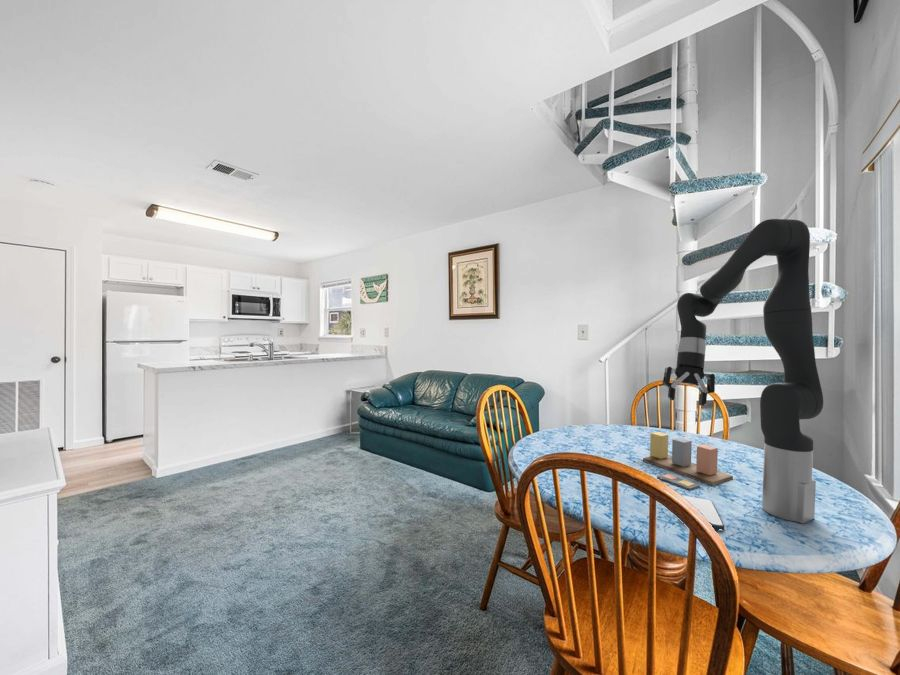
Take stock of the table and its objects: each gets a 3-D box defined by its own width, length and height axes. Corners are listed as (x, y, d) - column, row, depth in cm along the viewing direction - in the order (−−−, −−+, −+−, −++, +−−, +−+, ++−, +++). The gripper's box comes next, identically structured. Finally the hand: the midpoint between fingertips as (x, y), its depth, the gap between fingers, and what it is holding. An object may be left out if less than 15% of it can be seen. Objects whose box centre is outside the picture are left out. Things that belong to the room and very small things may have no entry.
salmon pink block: (716, 473, 119) (717, 447, 119) (709, 475, 117) (710, 449, 117) (703, 468, 123) (704, 444, 122) (696, 470, 121) (696, 446, 121)
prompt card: (699, 487, 112) (699, 484, 112) (689, 490, 110) (689, 487, 109) (667, 475, 121) (667, 472, 121) (657, 477, 118) (657, 475, 118)
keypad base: (732, 479, 118) (732, 475, 118) (712, 485, 113) (712, 482, 113) (662, 456, 138) (662, 453, 138) (643, 460, 134) (643, 457, 134)
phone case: (674, 499, 105) (681, 525, 91) (674, 493, 105) (681, 518, 91) (712, 505, 102) (726, 534, 87) (712, 499, 102) (726, 527, 87)
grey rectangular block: (691, 464, 126) (691, 440, 126) (683, 466, 124) (684, 442, 124) (679, 460, 130) (679, 437, 130) (671, 462, 128) (672, 439, 128)
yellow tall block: (667, 457, 133) (668, 434, 133) (660, 458, 132) (661, 436, 131) (657, 453, 137) (657, 431, 137) (649, 455, 135) (650, 433, 135)
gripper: (671, 347, 121) (666, 398, 119) (721, 355, 118) (717, 406, 116) (663, 351, 128) (658, 398, 126) (710, 358, 125) (705, 407, 123)
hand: (686, 402), depth 121 cm, fingers open, 8 cm apart
